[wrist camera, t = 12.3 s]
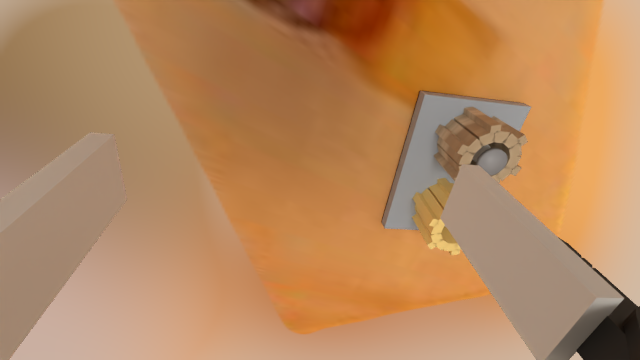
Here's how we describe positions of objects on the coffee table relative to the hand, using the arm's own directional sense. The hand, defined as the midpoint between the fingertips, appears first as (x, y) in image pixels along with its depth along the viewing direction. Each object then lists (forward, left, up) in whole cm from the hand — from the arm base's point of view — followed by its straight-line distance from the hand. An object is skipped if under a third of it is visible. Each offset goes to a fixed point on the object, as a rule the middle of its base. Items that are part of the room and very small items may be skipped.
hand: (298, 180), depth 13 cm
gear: (+7, +23, -25) cm, 35 cm away
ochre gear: (+17, +23, -25) cm, 38 cm away
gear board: (+12, +23, -27) cm, 37 cm away
